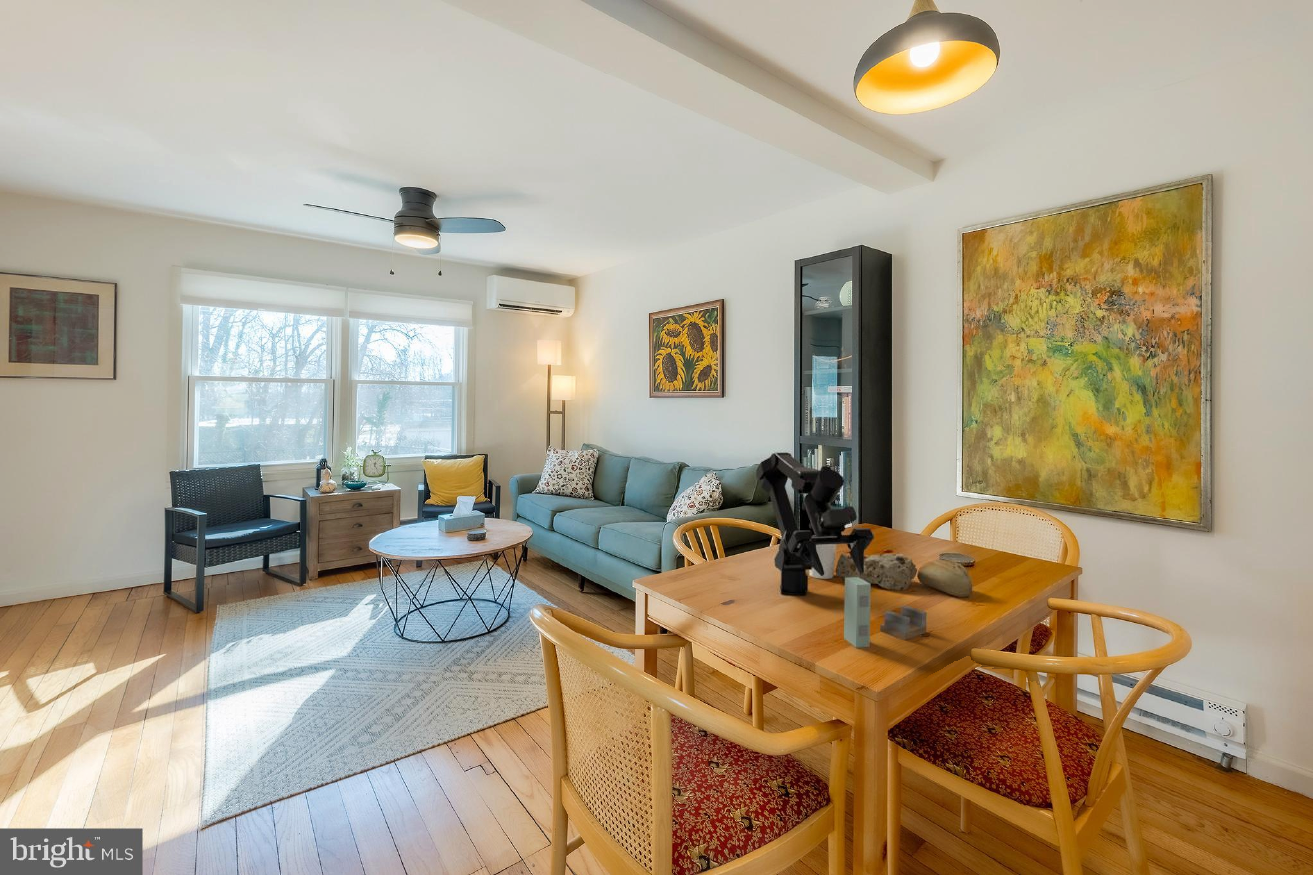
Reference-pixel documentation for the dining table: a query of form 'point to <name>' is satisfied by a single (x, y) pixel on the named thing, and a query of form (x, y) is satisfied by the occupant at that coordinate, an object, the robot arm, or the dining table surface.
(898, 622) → the hinge jig
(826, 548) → the white cup
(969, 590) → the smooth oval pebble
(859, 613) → the pale green tall block
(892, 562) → the rock
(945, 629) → the dining table surface
